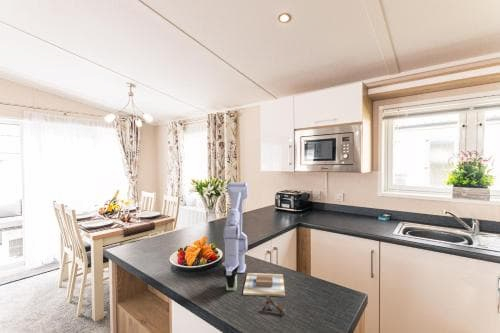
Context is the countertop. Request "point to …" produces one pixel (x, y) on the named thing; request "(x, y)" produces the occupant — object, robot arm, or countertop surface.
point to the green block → (233, 286)
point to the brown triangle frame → (274, 305)
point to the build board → (264, 292)
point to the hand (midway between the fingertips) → (231, 284)
